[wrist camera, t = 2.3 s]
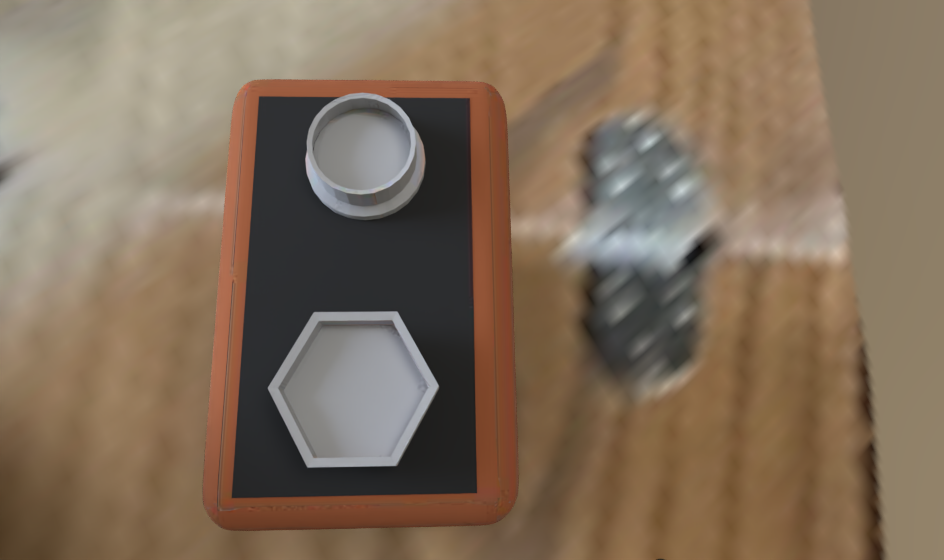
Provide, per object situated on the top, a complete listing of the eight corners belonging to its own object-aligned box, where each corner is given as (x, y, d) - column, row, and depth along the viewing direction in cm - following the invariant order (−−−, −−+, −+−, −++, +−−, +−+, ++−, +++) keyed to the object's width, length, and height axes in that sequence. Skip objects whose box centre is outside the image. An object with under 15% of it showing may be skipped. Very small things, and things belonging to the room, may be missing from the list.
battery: (313, 497, 18) (160, 543, 8) (323, 245, 19) (208, 31, 10) (482, 493, 18) (534, 535, 8) (477, 244, 20) (514, 35, 10)
